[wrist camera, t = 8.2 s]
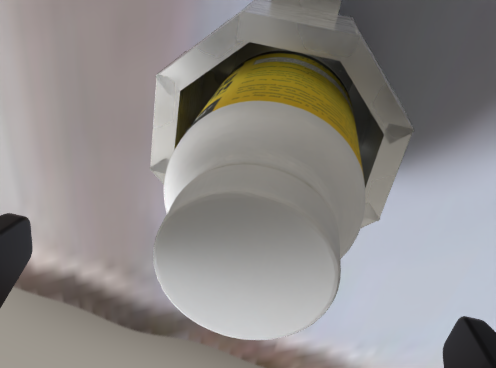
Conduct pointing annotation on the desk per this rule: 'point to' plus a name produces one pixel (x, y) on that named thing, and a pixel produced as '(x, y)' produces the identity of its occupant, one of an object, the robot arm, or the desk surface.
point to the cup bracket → (299, 40)
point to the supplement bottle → (263, 200)
